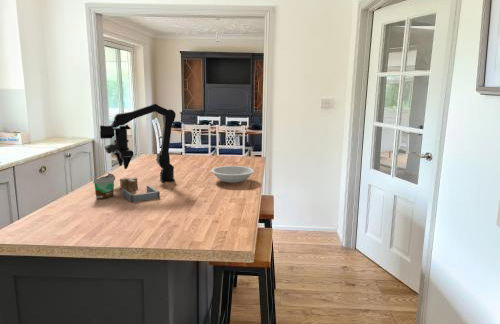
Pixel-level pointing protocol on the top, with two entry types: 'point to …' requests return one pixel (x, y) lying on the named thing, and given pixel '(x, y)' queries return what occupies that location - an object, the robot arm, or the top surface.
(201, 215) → the top surface
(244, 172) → the soup bowl
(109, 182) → the food container
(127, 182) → the wooden t-shaped block
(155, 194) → the corral
